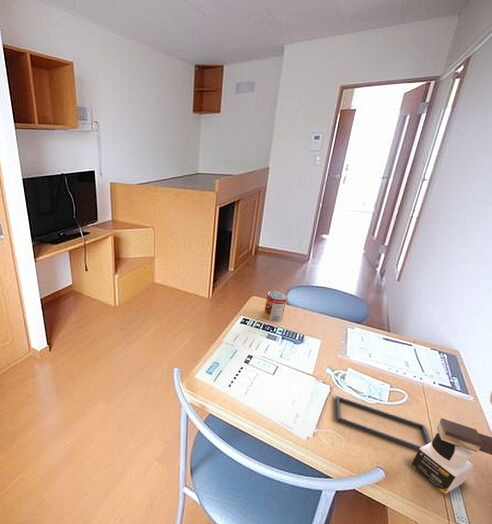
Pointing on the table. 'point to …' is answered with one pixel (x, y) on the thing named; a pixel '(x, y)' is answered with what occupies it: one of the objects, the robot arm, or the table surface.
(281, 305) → the canned food
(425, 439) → the empty picture frame
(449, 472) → the medicine bottle
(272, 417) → the table surface
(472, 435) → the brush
